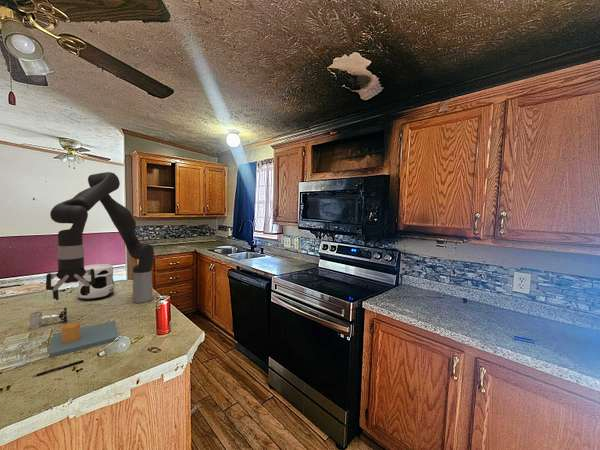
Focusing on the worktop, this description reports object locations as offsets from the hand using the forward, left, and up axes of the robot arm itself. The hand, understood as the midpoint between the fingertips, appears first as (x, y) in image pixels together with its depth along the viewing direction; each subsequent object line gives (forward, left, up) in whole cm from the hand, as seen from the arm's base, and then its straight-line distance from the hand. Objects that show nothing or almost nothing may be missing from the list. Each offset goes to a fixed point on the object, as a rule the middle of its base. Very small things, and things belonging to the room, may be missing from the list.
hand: (72, 297), depth 99 cm
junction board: (-4, 0, -18) cm, 19 cm away
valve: (+9, -25, -19) cm, 32 cm away
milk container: (-9, -57, -19) cm, 61 cm away
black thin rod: (+3, +19, -19) cm, 27 cm away
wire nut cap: (+1, +1, -17) cm, 17 cm away
